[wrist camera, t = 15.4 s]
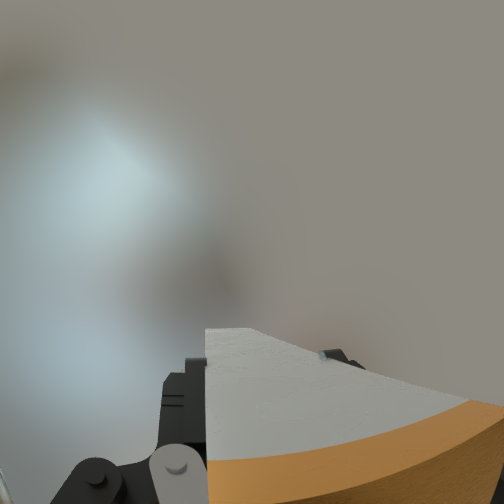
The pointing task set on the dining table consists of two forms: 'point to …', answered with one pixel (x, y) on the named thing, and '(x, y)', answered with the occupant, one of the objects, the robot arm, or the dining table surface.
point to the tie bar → (337, 431)
